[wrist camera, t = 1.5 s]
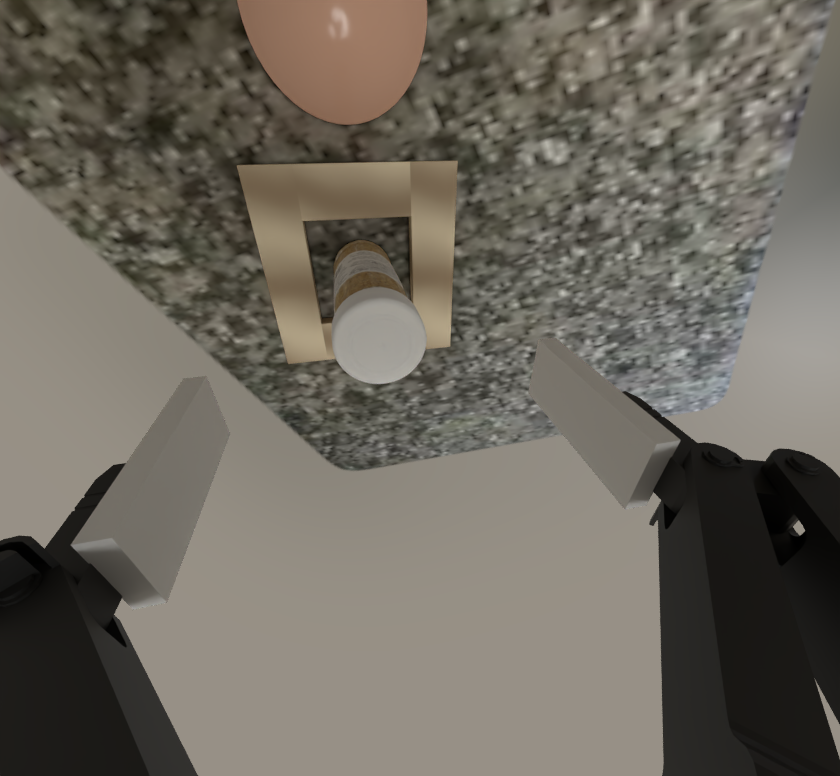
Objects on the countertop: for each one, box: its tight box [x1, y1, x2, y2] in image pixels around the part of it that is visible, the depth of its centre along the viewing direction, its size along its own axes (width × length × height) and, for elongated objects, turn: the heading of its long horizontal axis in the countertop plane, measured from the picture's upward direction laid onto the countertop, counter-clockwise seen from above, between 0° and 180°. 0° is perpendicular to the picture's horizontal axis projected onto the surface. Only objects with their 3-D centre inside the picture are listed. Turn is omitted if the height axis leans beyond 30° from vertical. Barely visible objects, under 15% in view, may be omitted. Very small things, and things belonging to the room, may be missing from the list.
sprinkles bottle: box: [331, 240, 427, 384], centre depth 22 cm, size 5×5×13 cm
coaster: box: [237, 0, 427, 125], centre depth 19 cm, size 10×10×1 cm
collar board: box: [237, 160, 458, 364], centre depth 27 cm, size 14×14×1 cm
